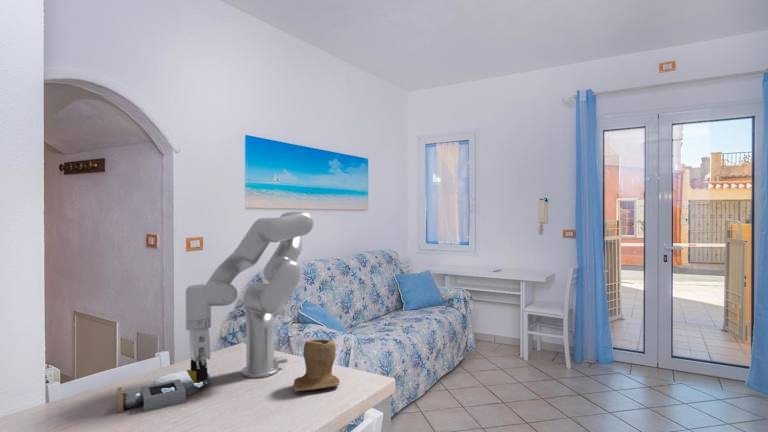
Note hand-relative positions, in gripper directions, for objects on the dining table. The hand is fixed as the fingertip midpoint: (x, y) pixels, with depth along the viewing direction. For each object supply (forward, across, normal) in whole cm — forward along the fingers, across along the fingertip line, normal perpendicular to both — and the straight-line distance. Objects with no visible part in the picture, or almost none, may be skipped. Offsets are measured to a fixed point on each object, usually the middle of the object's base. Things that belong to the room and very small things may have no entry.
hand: (198, 375), depth 141 cm
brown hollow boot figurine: (+4, -20, -32) cm, 38 cm away
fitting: (+4, -4, +14) cm, 15 cm away
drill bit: (+4, 0, 0) cm, 4 cm away
